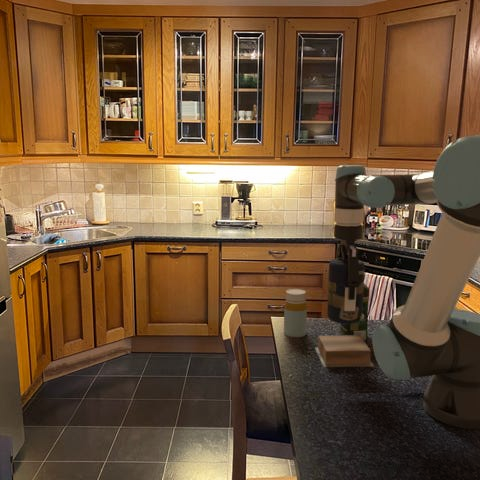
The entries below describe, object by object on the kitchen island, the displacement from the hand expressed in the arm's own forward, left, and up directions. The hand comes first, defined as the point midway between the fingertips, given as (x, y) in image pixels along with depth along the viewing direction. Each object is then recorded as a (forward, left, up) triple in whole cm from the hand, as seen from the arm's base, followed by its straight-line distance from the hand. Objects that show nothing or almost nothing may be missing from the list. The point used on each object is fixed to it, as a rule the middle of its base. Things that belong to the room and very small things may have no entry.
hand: (345, 304), depth 133 cm
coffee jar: (+16, -7, -17) cm, 24 cm away
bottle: (+18, +11, -17) cm, 27 cm away
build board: (-1, +1, -17) cm, 17 cm away
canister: (0, 0, -5) cm, 5 cm away
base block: (0, 0, -15) cm, 15 cm away
